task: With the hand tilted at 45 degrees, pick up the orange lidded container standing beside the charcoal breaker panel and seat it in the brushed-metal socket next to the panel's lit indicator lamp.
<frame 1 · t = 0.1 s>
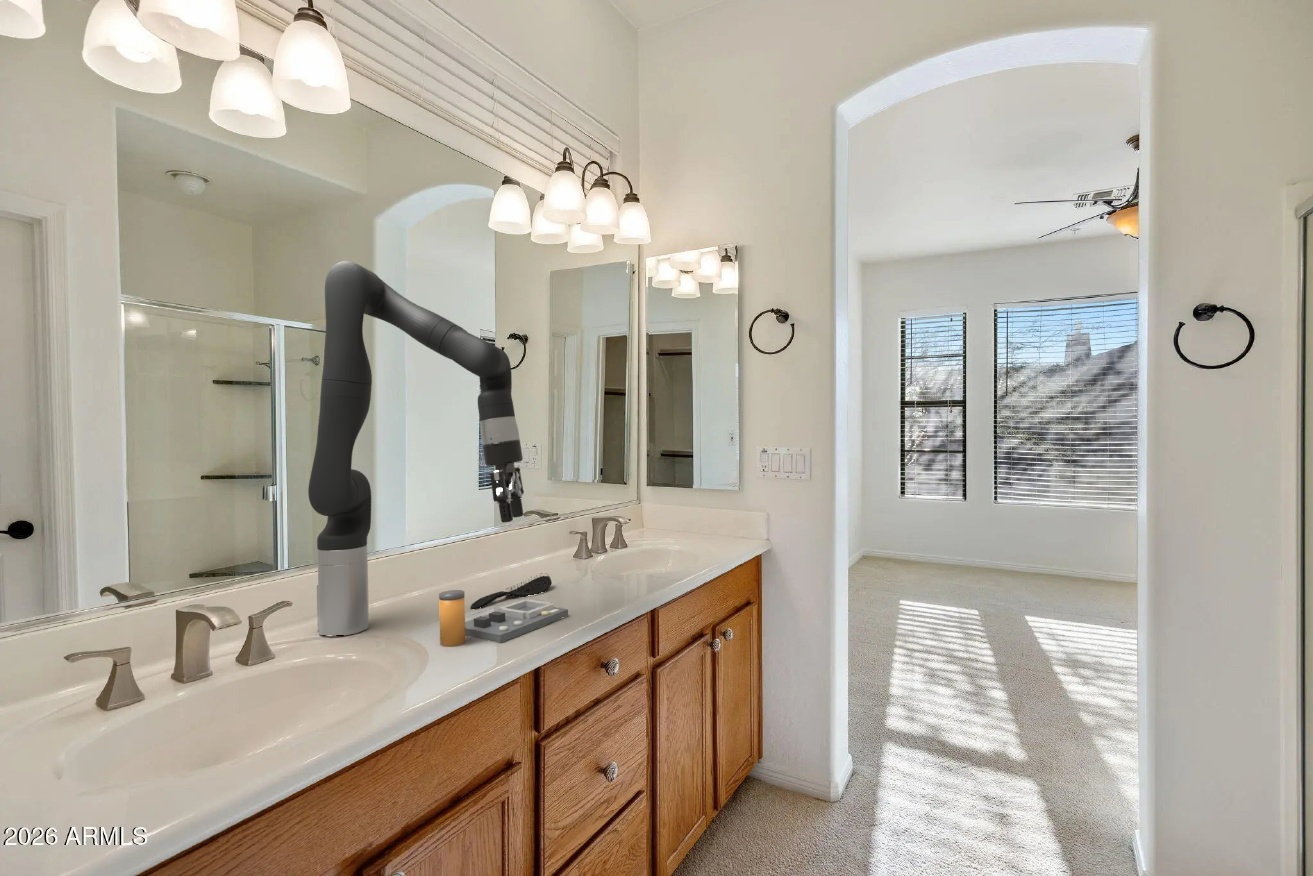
hand: (513, 519, 126), 22 cm above the counter, tool pointing down, fingers open, 8 cm apart
orange lidded container: (452, 642, 118), on the counter
breaker panel: (513, 624, 129), on the counter
hairbrush: (512, 599, 152), on the counter
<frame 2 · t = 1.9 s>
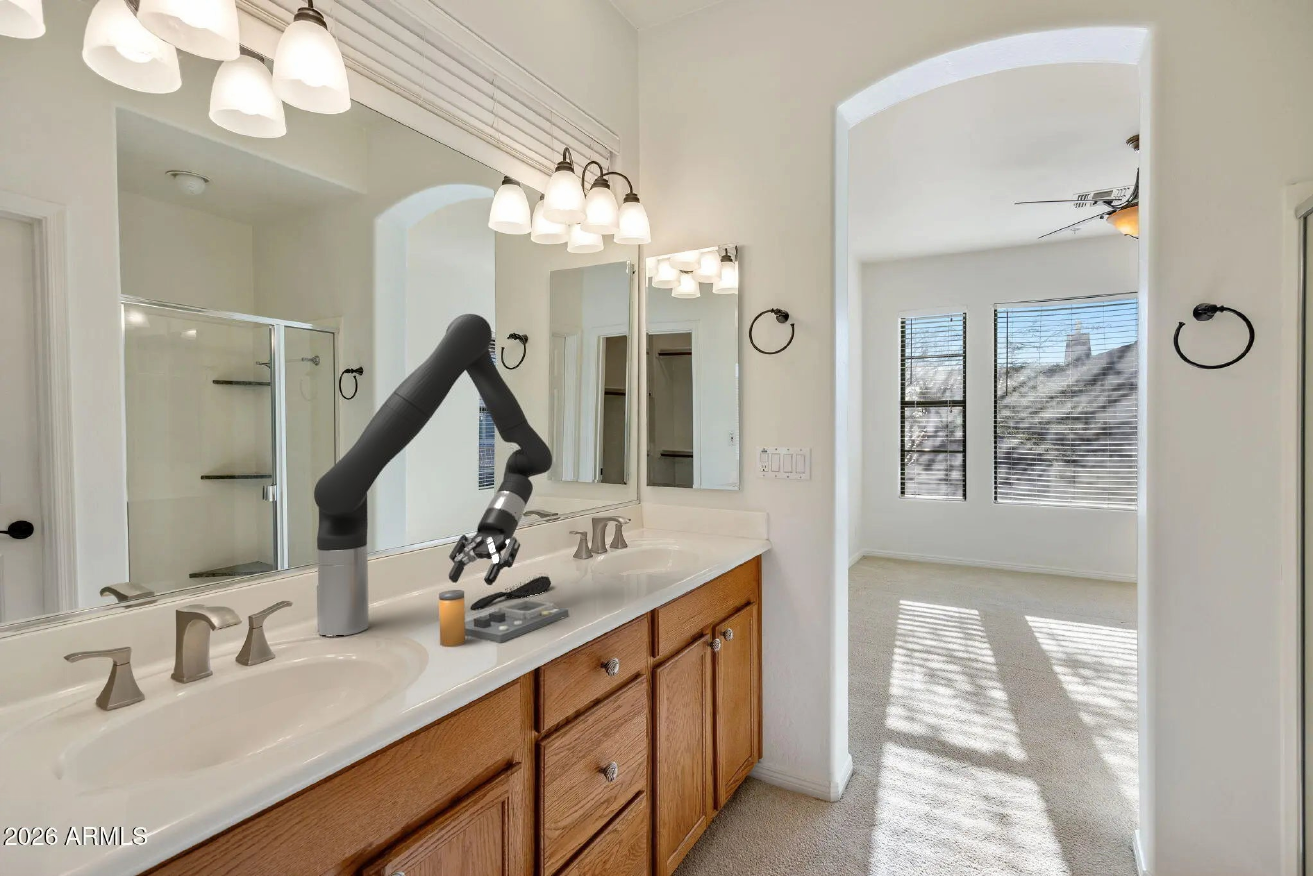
hand: (469, 581, 123), 10 cm above the counter, tool tilted 45°, fingers open, 8 cm apart
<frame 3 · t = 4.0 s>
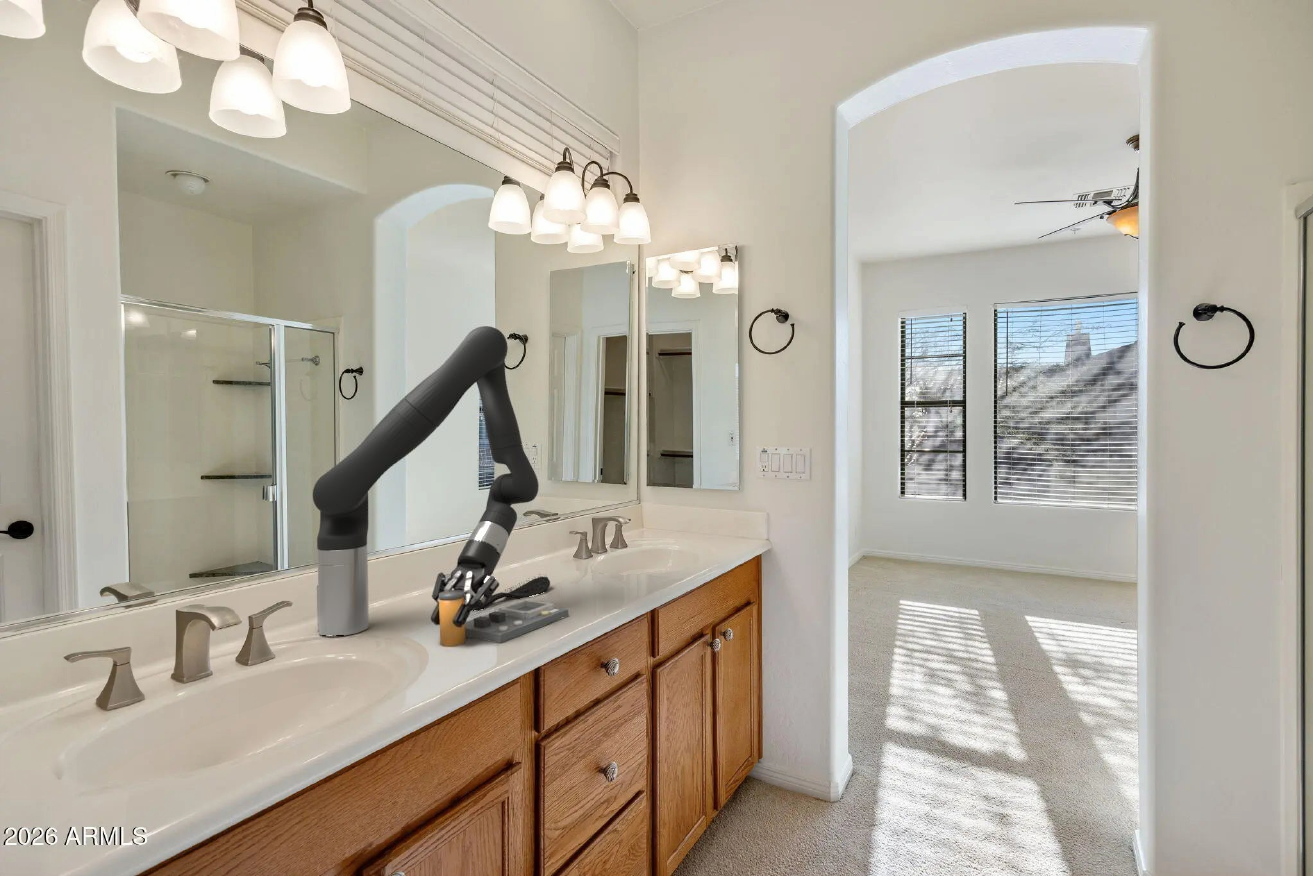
hand: (445, 623, 116), 4 cm above the counter, tool tilted 45°, fingers closed on orange lidded container, 4 cm apart
orange lidded container: (452, 642, 118), on the counter, touching gripper
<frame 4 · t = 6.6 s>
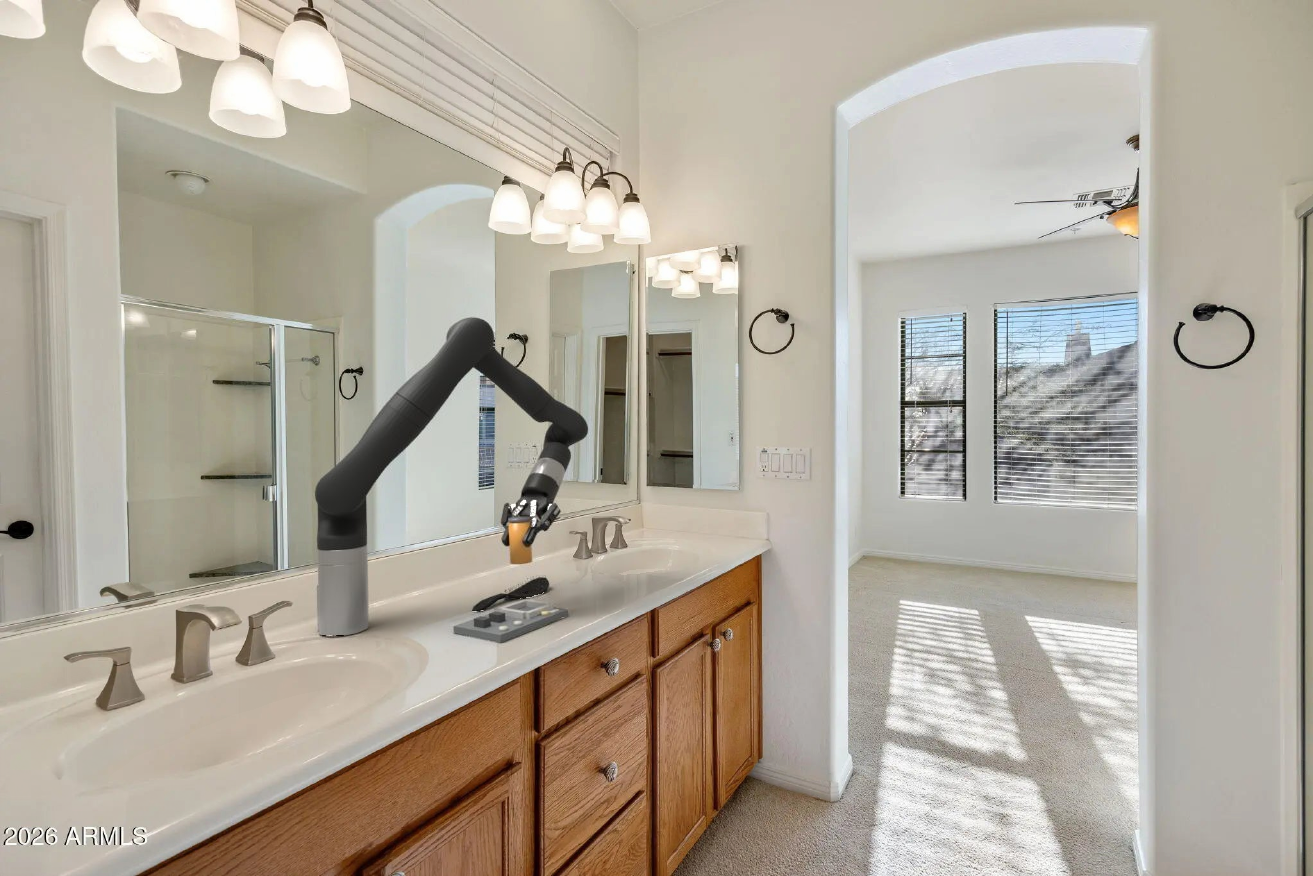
hand: (515, 544, 130), 17 cm above the counter, tool tilted 45°, fingers closed on orange lidded container, 4 cm apart
orange lidded container: (521, 562, 132), point 12 cm above the counter, touching gripper
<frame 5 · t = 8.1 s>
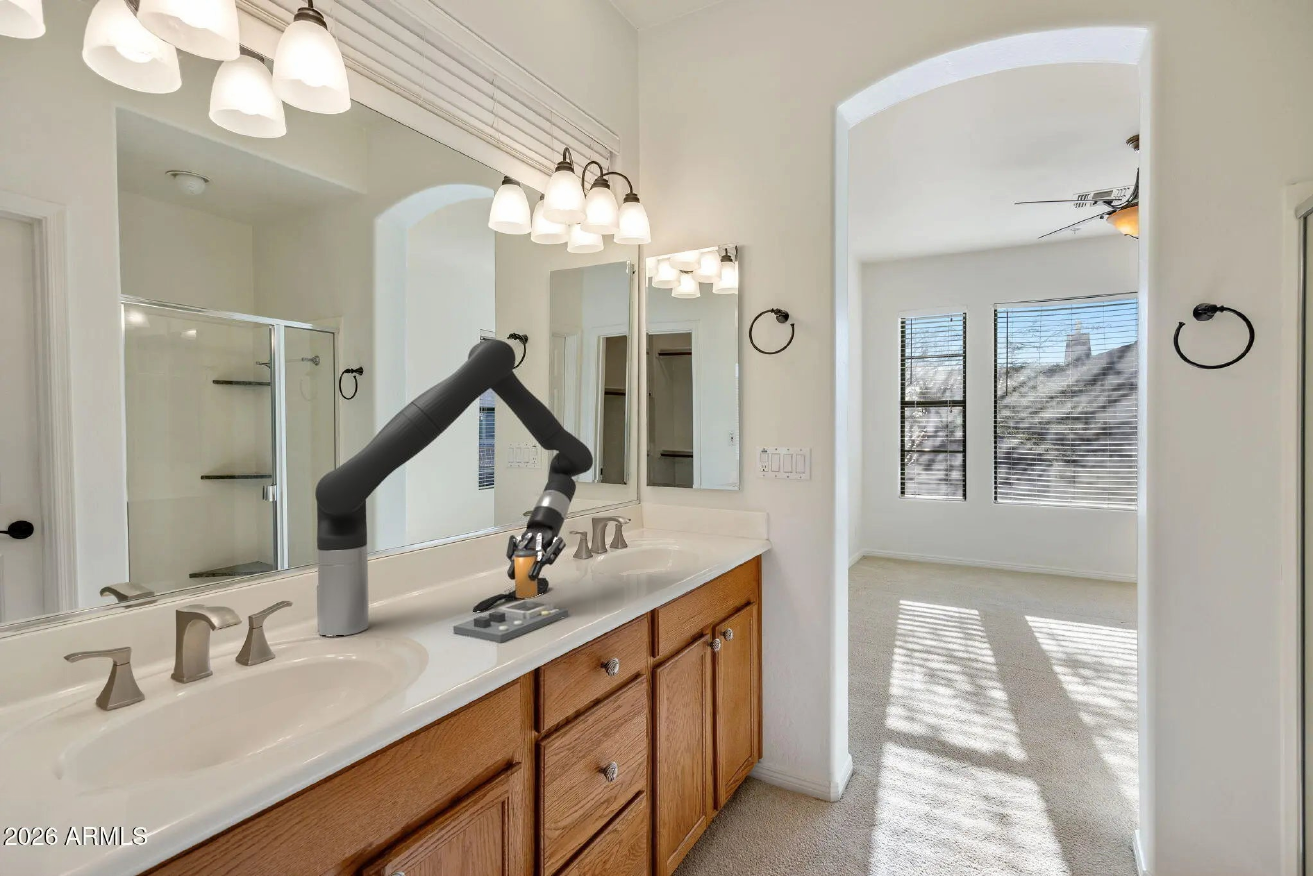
hand: (521, 578, 131), 9 cm above the counter, tool tilted 45°, fingers closed on orange lidded container, 4 cm apart
orange lidded container: (526, 595, 133), point 5 cm above the counter, touching gripper
when the fingers open (7 cm above the counter, at t = 9.3 s): orange lidded container drops 1 cm, resting on breaker panel.
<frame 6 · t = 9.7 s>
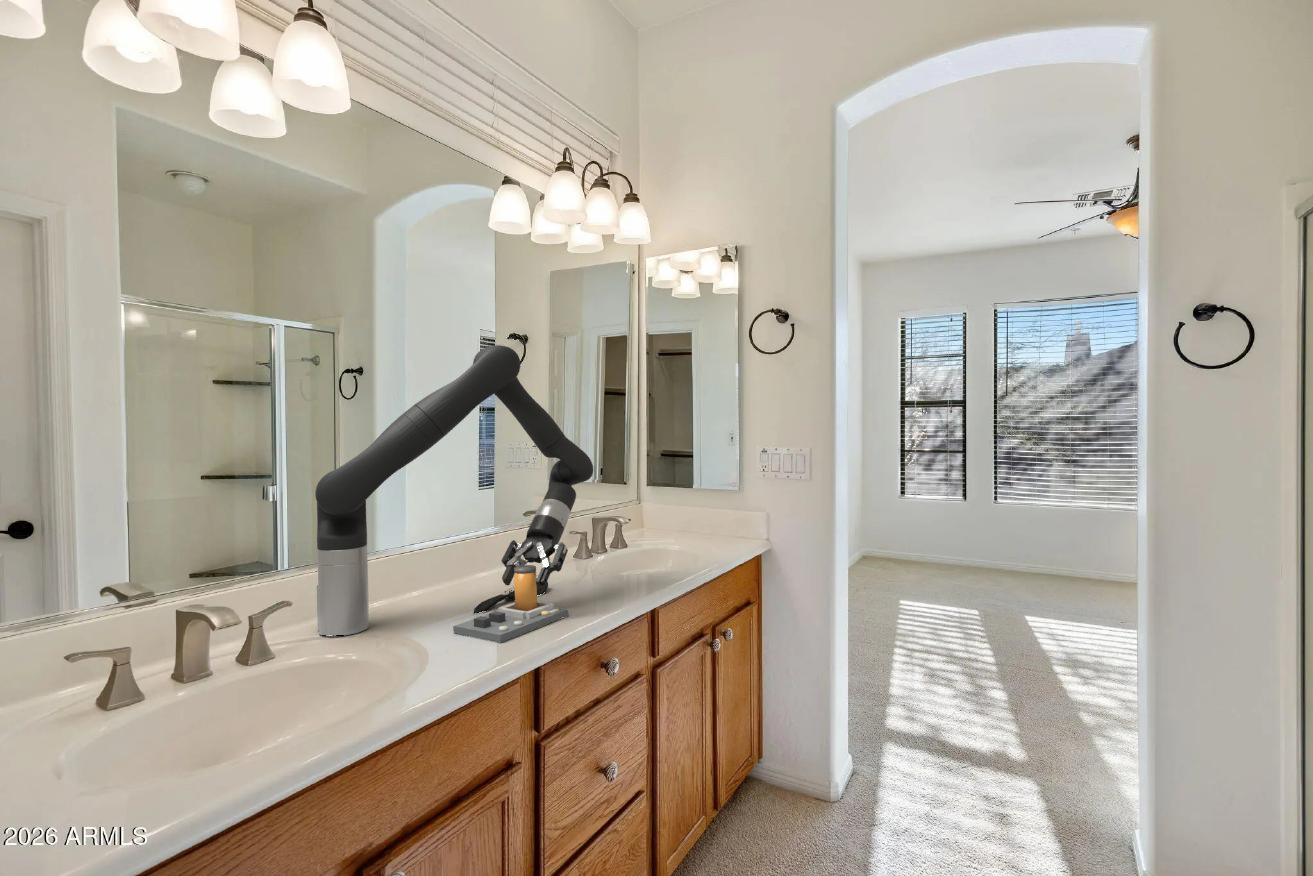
hand: (522, 584, 132), 8 cm above the counter, tool tilted 45°, fingers open, 8 cm apart
orange lidded container: (526, 611, 133), point 2 cm above the counter, touching breaker panel
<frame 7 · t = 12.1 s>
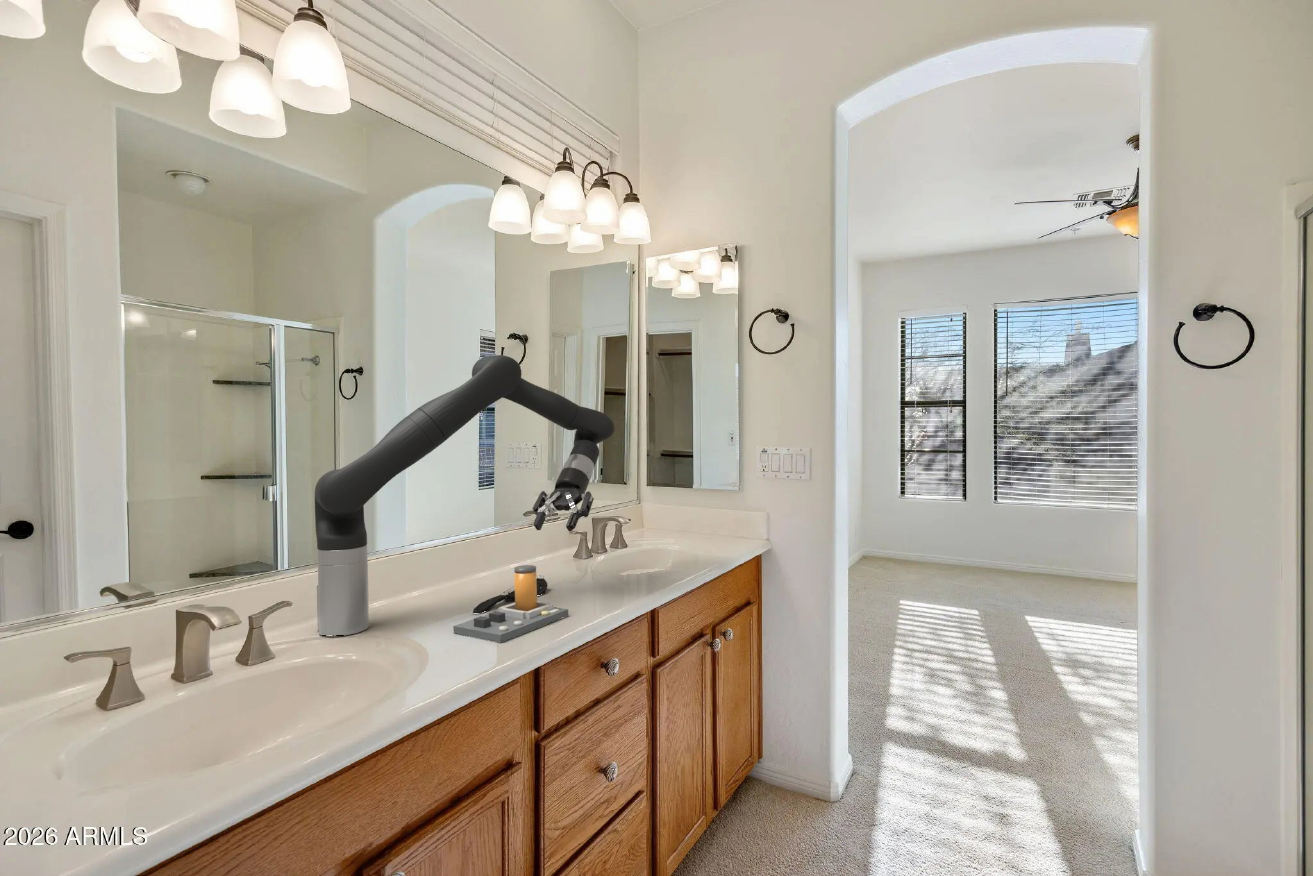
hand: (552, 528, 144), 18 cm above the counter, tool tilted 45°, fingers open, 8 cm apart
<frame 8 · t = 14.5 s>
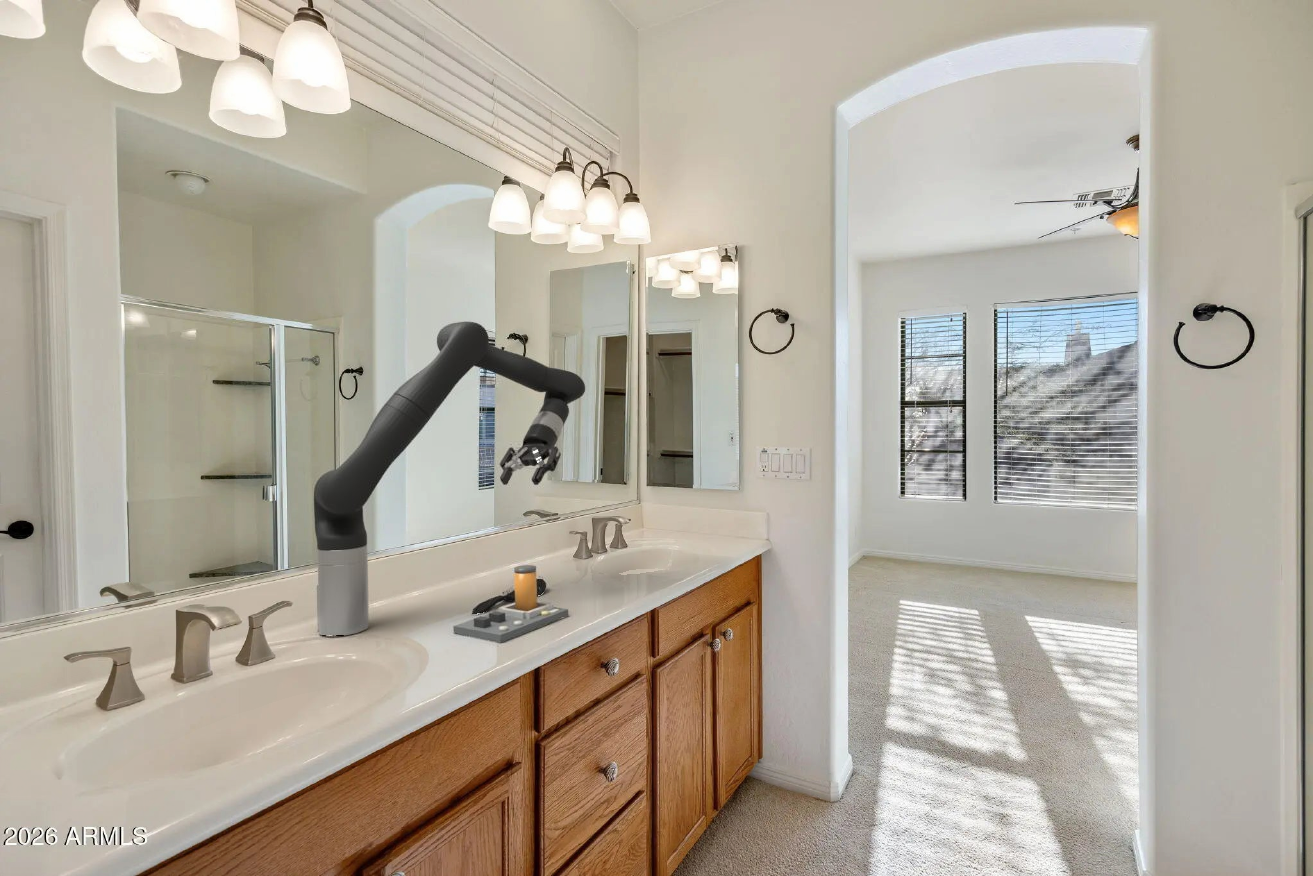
hand: (518, 482, 144), 29 cm above the counter, tool tilted 45°, fingers open, 8 cm apart
at the end: orange lidded container 0.1 cm from the target spot on the breaker panel, point 1.5 cm above the breaker panel's base; orange lidded container tilted 0°; the gripper is holding nothing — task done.
